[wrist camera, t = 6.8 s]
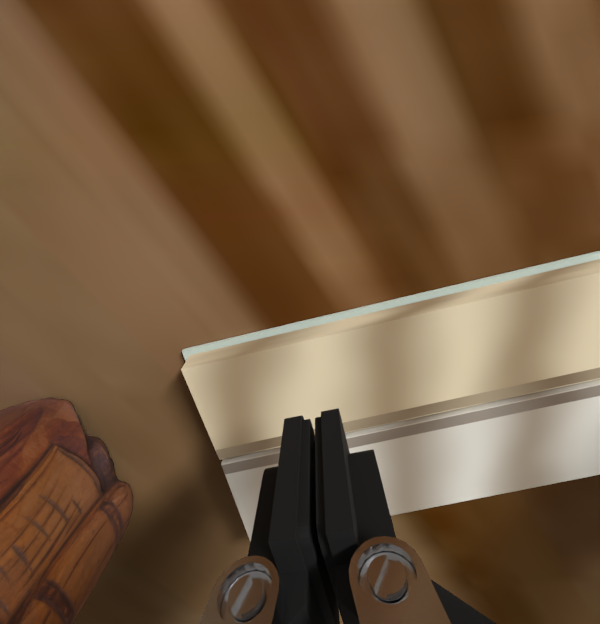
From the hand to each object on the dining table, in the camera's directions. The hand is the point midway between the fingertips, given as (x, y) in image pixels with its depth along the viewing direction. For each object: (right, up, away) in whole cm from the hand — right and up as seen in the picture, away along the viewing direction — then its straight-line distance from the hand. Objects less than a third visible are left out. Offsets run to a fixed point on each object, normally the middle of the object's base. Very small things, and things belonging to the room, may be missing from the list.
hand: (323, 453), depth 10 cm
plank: (+4, +2, +7) cm, 8 cm away
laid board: (+6, -3, +9) cm, 11 cm away
